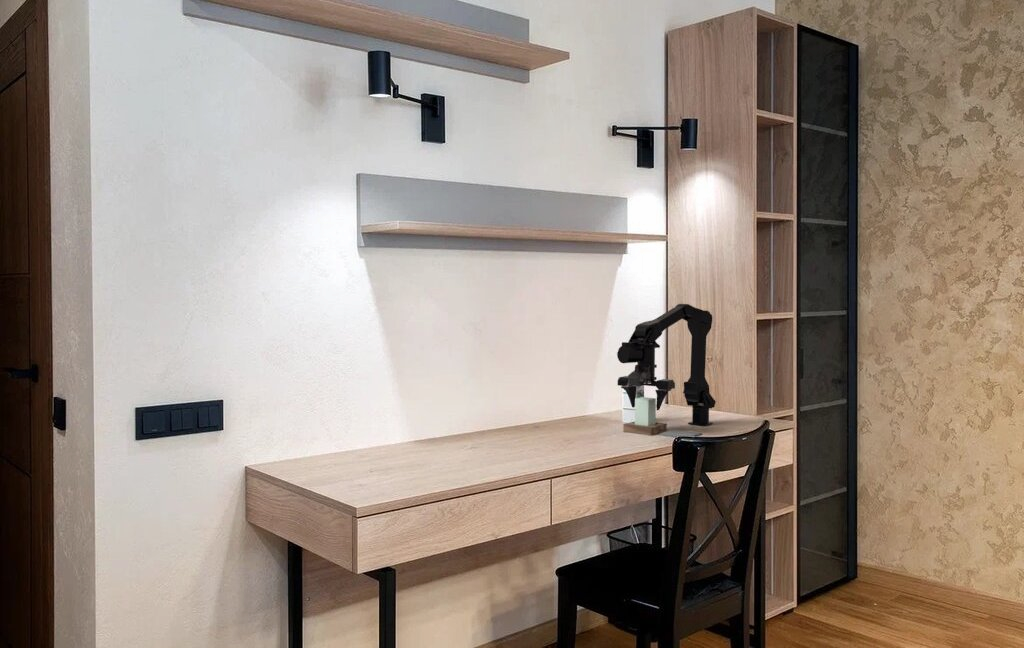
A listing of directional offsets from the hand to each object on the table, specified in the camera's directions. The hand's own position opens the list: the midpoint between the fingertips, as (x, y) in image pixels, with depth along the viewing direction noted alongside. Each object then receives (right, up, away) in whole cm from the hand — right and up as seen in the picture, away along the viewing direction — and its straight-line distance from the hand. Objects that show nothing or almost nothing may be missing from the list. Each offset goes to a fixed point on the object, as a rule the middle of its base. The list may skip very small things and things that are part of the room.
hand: (645, 408), depth 281 cm
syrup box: (-2, -7, +18) cm, 19 cm away
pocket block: (0, -8, 0) cm, 8 cm away
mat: (+11, -8, -6) cm, 14 cm away
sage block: (0, -8, 0) cm, 8 cm away
